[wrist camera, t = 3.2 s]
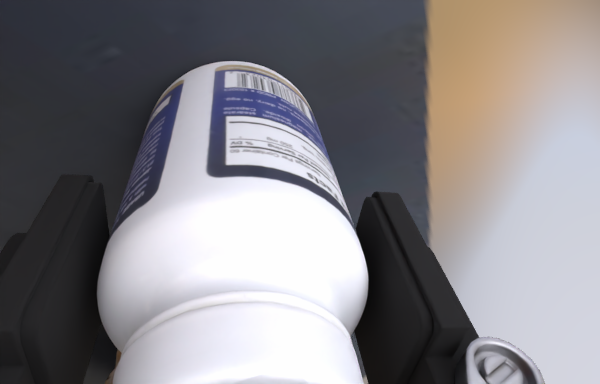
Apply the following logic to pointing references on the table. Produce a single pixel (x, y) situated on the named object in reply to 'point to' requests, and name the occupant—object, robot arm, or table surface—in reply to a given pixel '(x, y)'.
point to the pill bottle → (233, 242)
